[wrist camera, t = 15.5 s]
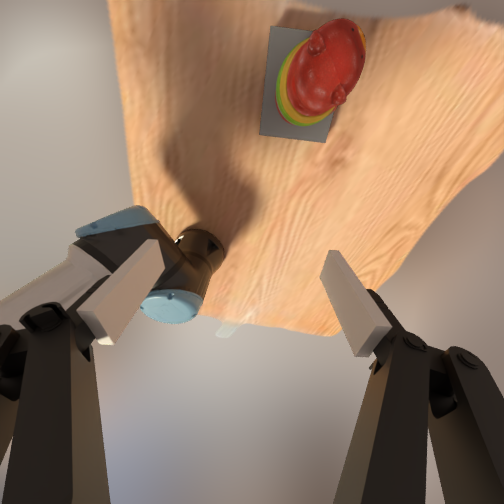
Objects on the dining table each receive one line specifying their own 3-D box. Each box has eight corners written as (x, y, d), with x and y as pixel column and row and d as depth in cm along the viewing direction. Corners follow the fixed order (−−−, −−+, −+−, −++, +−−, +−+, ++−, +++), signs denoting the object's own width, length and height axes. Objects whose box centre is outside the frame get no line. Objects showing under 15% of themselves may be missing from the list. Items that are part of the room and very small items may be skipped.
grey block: (259, 134, 39) (259, 134, 36) (269, 36, 31) (270, 25, 28) (320, 141, 39) (325, 143, 36) (345, 46, 31) (355, 36, 28)
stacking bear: (342, 105, 32) (408, 86, 18) (290, 141, 36) (309, 151, 21) (318, 28, 28) (382, -85, 13) (261, 79, 31) (260, 35, 16)
